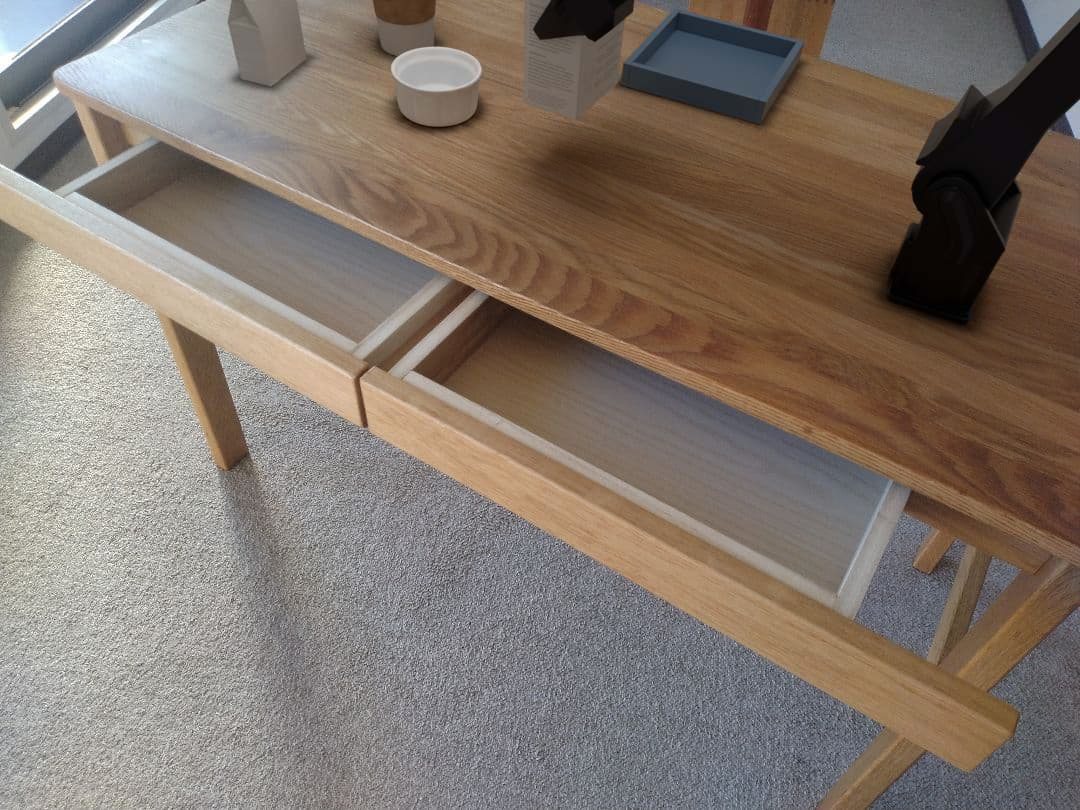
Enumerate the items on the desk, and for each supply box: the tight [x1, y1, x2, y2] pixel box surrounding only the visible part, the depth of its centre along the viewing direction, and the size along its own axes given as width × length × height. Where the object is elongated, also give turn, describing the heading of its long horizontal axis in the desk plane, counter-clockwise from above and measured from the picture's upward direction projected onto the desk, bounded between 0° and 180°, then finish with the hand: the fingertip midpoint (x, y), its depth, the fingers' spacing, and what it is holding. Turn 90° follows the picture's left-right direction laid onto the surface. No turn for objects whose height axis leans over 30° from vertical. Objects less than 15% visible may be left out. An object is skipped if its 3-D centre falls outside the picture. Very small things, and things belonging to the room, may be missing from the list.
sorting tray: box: [620, 7, 806, 125], centre depth 92 cm, size 16×16×2 cm
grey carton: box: [227, 0, 307, 87], centre depth 85 cm, size 4×7×10 cm, turn 159°
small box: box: [523, 0, 626, 121], centre depth 71 cm, size 8×6×10 cm
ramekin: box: [390, 46, 483, 128], centre depth 84 cm, size 9×9×4 cm
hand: (561, 15), depth 70 cm, fingers closed on small box, 8 cm apart
